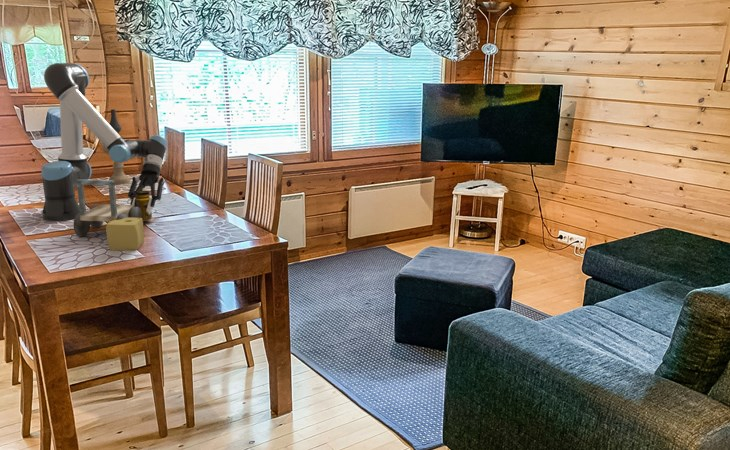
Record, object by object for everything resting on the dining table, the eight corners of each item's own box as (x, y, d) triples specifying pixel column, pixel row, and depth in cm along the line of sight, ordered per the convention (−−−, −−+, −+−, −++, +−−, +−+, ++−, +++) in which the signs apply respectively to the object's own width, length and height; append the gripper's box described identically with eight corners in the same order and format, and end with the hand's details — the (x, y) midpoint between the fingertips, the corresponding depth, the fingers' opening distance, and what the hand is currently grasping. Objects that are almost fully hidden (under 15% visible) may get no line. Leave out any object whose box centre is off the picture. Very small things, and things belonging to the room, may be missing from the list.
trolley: (75, 238, 221) (68, 180, 214) (100, 223, 241) (94, 170, 235) (121, 240, 221) (116, 182, 214) (142, 225, 241) (138, 171, 234)
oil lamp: (139, 182, 320) (133, 110, 309) (112, 186, 309) (105, 111, 298) (125, 178, 330) (119, 108, 319) (100, 182, 319) (92, 109, 308)
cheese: (117, 242, 219) (114, 216, 216) (146, 242, 220) (144, 217, 217) (107, 250, 209) (105, 224, 206) (138, 250, 210) (136, 224, 207)
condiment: (154, 219, 244) (152, 192, 241) (133, 222, 240) (131, 194, 236) (150, 215, 250) (148, 188, 246) (130, 218, 245) (127, 190, 242)
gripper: (127, 161, 248) (114, 207, 237) (170, 163, 248) (160, 209, 237) (133, 171, 255) (121, 216, 244) (175, 172, 255) (165, 217, 243)
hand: (140, 212), depth 240 cm, fingers closed on condiment, 6 cm apart
